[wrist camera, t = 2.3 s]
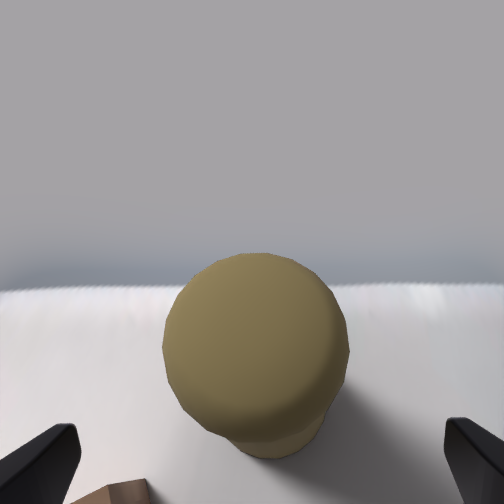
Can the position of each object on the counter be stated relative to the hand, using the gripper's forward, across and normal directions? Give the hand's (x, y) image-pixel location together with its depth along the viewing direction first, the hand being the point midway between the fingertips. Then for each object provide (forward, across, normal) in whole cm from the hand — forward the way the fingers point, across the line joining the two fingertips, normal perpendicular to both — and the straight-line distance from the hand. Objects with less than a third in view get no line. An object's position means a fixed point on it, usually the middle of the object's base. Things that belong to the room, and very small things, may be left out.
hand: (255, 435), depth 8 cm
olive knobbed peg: (+9, 0, +5) cm, 10 cm away
